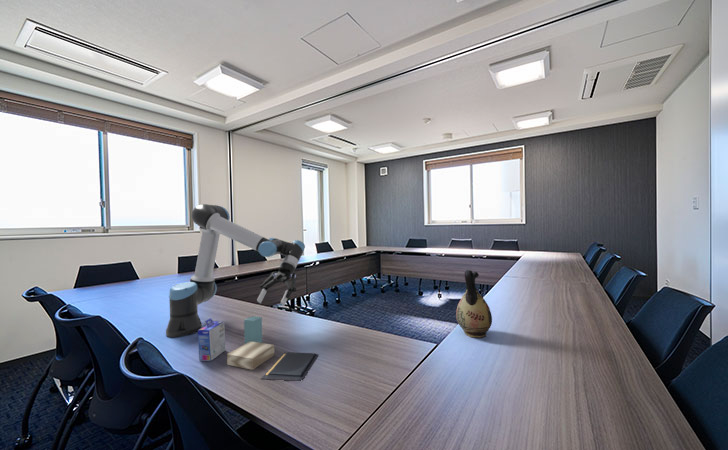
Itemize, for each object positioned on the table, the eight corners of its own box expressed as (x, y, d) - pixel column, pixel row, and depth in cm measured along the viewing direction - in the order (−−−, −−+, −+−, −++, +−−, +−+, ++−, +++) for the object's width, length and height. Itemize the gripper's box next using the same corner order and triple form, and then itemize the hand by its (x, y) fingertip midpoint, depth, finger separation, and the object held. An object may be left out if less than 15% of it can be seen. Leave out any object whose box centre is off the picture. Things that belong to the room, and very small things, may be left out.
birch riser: (227, 364, 105) (227, 354, 105) (250, 350, 116) (250, 341, 116) (252, 369, 101) (252, 358, 101) (274, 354, 112) (274, 345, 112)
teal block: (244, 347, 119) (244, 319, 119) (253, 343, 124) (252, 316, 124) (254, 349, 117) (253, 321, 117) (262, 344, 122) (261, 317, 122)
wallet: (301, 378, 92) (258, 375, 94) (301, 384, 92) (258, 381, 94) (320, 351, 112) (284, 349, 114) (320, 356, 112) (285, 353, 114)
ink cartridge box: (213, 349, 118) (213, 315, 118) (226, 350, 117) (225, 315, 117) (197, 361, 108) (196, 323, 108) (211, 361, 107) (210, 324, 107)
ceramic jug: (461, 325, 139) (460, 265, 139) (495, 332, 130) (494, 268, 130) (450, 337, 126) (449, 270, 125) (487, 345, 117) (485, 273, 116)
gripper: (312, 271, 143) (296, 308, 129) (272, 269, 152) (253, 304, 138) (306, 262, 138) (289, 300, 124) (265, 261, 147) (244, 296, 133)
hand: (270, 302), depth 131 cm, fingers open, 13 cm apart
